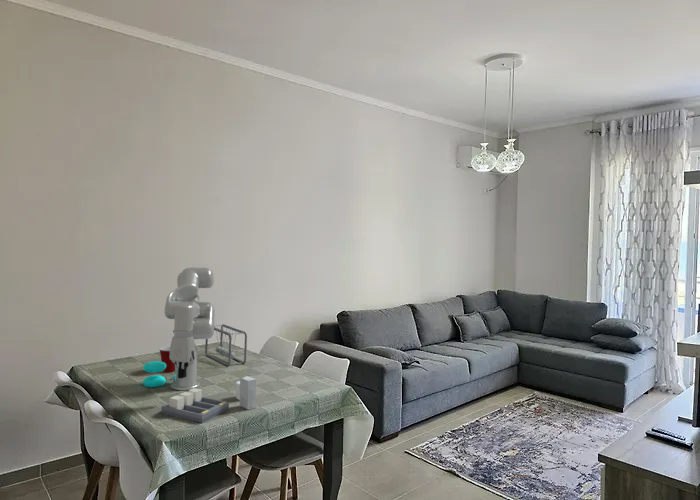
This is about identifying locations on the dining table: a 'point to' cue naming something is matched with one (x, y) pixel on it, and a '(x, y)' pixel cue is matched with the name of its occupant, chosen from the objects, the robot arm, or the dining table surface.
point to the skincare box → (248, 392)
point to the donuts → (156, 379)
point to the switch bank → (198, 410)
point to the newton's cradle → (224, 351)
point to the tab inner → (196, 394)
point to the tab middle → (187, 398)
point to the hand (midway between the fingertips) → (182, 377)
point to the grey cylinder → (238, 390)
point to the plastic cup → (167, 359)
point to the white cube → (177, 402)
